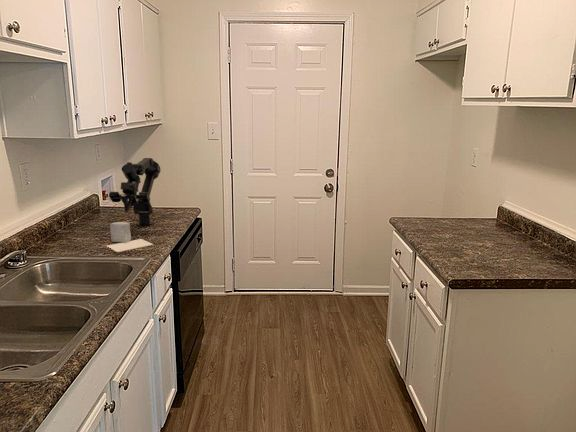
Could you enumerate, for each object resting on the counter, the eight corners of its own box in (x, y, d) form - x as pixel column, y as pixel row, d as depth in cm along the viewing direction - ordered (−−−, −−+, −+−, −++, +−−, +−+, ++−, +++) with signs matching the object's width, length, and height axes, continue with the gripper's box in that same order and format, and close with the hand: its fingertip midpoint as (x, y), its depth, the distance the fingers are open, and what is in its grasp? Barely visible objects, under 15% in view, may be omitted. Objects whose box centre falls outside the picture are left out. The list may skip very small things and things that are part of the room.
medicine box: (131, 240, 220) (129, 222, 219) (125, 242, 216) (124, 224, 214) (117, 239, 222) (115, 221, 221) (111, 241, 218) (109, 223, 217)
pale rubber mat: (106, 246, 212) (106, 245, 212) (141, 239, 223) (141, 238, 223) (117, 252, 203) (117, 251, 203) (153, 244, 214) (153, 244, 214)
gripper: (108, 175, 226) (100, 202, 218) (146, 175, 226) (140, 202, 217) (116, 188, 236) (109, 214, 227) (152, 189, 235) (146, 215, 227)
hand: (126, 211), depth 224 cm, fingers closed
